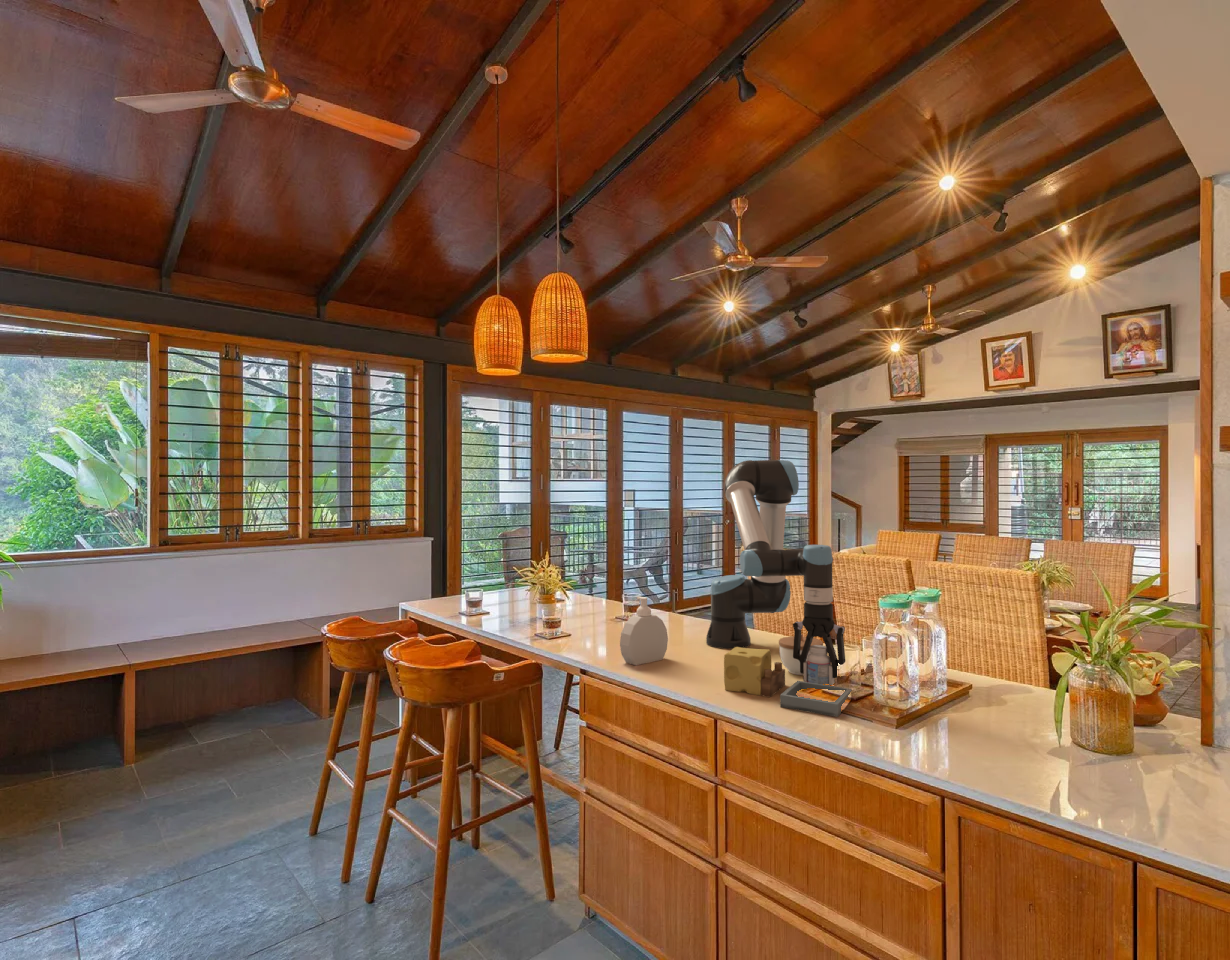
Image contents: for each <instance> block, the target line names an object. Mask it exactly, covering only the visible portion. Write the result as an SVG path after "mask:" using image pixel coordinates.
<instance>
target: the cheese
mask: <svg viewBox="0 0 1230 960" xmlns="http://www.w3.org/2000/svg"><path fill="white" fill-rule="evenodd" d="M771 654H772V653H771V650H770V649H763V648H762V649H761V648H759V649H758V648H748V647H744V648H741V647H735V648H733V649H731V650H730V651H728V652H726V653H725V654H724V656H723V682H724V690H725V691H730V692H738V693H739V692H740V693H743V692H745V693H747V694H749V695H755V696H761V679H762V678H763V677H764V669H771V670H772V655H771Z"/></svg>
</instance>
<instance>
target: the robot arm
mask: <svg viewBox="0 0 1230 960" xmlns="http://www.w3.org/2000/svg"><path fill="white" fill-rule="evenodd" d="M799 484H800V482H799V475H798V471H797V468H796V467H795V464H794V463H793V462H792V461H790V460H786V459H785V460H782V459H767V460H766V459H764V460H762V459H760V460H759V459H758V460H757V459H756V460H755V459H754V460H753V459H752V460H751V459H750V460H749V459H747V460H743V461H740V462H738V463H737V464H736V465H734V466H733V467H732V468H730V470H729V472H728V473H727V475H726V477H725V479H724V484H723V491H724V494H725V498H726V500H727V501H728V503H730V505H731V509H732V512H733V515H734V518H735V522H736V525H737V529H738V534H739V536H740V540H741V543H742V546H743V550H742V551H741V552H740V556H739V566H740V571H741V573H742V574H730V575H729V574H728V575H724V576H723V575H722V576H719V577H717V578H716V577H715V578H714V579H713V580H712V581H711V585H710V592H709V593H710V615H711V617H710V618H711V619H710V625H709V628H708V630H707V634H706V640H705V641H706V645H708V646H710V647H714V648H718V649H728V650H729V649H731V650H732V649H733V648H735V647H741V648H748V647H750V646H751V636H750V633H749V630H748V627H747V623H746V614H769V613H770V614H775V613H782V612H784V611H785V610H787V608H788V606H789V604H790V601H791V594H792V593H791V585H790V581H789V579H787V578H786V577H795V576H796V577H797V576H798V577H801V576H803V601H805V602H804V603H803V619H802V621H795V622H793V623H792V627H793V631H794V632H793V633H794V634H793V636H794V648H793V658H794V659H798V660H799V661H800V672H801V673H803V674H804V675H803V682H808V667H807V666H808V663H807V661H806V659H807V655H808V652H809V649H810V646H811V643H812V640H813V638H816V637H818V638H822V640H823V641H822V642H823V643H824V644H825V645H824V646H826V648H827V651H828V653H827V655H828V656H829V657H830V661H831V665H830V666H829V685H833V684H834V683H836V682H835V679H837V678H838V677H837V666H838V667H839V666H843V665H844V664H845V663H846V653H845V652H846V651H845V641H844V639H845V637H844V633H845V631H846V627H845V626H843V625H842V626H840V625H837V624H835V621H834V605H833V603H832V602H834V594H833V560H834V558H833V551H832V547H831V546H830V545H826V544H807V545H804V547H797V548H794V549H793V548H791V549H784V540H785V539H784V537H785V526H786V525H785V523H786V511H787V510H786V509H787V506H788V505H789V504H790V503H791V502H792V497H793V496H795V495H797V494H798V493H799V492H798V491H799V487H800V486H799ZM756 501H757V502H758V504H759V506H758V505H757V502H756ZM758 507H759V508H758ZM745 577H750V578H747V579H746V578H745ZM803 628H804V629H805V630H806V631H807V633H806V636H805V637H806V640H805V644H804V647H803V650H802V653H801V654H800V647H801V634H802V629H803ZM833 630H834V633H835V634H836V646H837V653H836V650H835V648H834V644H833V640H832V636H831V632H832V631H833ZM838 663H839V664H840V665H838Z"/></svg>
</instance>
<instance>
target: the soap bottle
mask: <svg viewBox="0 0 1230 960" xmlns="http://www.w3.org/2000/svg"><path fill="white" fill-rule="evenodd" d="M637 600H639V601H640V606H638V608H637V609H636V614H635V615H634V614H633V615H631V616H630V617H629V618H628V619H627V620H626V621H625V623H624V625H623V628H622V629H621V633H620V640H619V647H620V654H621V656H622V659H623V660H624V662H625V663H627V664H629V665H633V666H639V665H644V664H648V663H653V662H658V661H662V660H663V659H664V657H665V654H666V652H667V650H668V642H669V636H668V629H667V627H666V625H665V623H664V621H663V619H662V618H660V617H659V616H658V615H656V614H652V609H651V607H649V606H648V597H645V596H637Z"/></svg>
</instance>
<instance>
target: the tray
mask: <svg viewBox="0 0 1230 960" xmlns="http://www.w3.org/2000/svg"><path fill="white" fill-rule="evenodd" d="M807 688H815V689H828V690H845V692H844V693H843V694H842V695H841V696H840V697H839V698H838V699H837V700H836V701H835V702H828V701H822V700H816V699H810V698H804V697H798V696H797V695H796V693H797V691H799V690H801V689H807ZM851 691H852V692H853V689H852V688H850V687H849V688H848V687H842V686H836V685H835V686H830V685H823V684H817V683H810V682H804V680H803V681H801V680H796V681H795V682H794V683H793V684H792V685H791V686H789V687H788V688H786V689H785V691H783V692H782V693H780V695H779V696H780V697H779V699H780V701H779V704H780V708H784V709H789V710H796V711H800V712H807V713H812V714H818V715H824V716H829V717H836V718H838V717H839V716H840V715H841V714H842V713H841V706H842V704H843V703H844V702H845V700H846V699H847V697H848V695H849V694H850V692H851Z"/></svg>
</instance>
